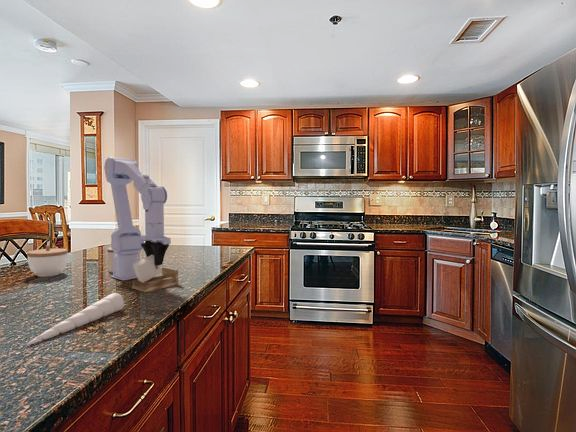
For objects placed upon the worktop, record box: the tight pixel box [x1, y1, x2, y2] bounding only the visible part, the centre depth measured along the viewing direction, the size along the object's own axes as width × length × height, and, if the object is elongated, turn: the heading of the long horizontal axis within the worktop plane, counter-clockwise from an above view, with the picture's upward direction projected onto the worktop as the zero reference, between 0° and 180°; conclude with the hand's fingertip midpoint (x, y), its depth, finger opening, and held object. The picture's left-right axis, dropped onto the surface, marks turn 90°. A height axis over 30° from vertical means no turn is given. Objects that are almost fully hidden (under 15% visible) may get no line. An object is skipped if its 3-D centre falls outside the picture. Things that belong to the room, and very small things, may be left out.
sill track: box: [131, 266, 179, 293], centre depth 113 cm, size 12×8×5 cm, turn 144°
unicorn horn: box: [26, 292, 125, 346], centre depth 79 cm, size 5×24×5 cm, turn 160°
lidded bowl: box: [26, 245, 69, 278], centre depth 129 cm, size 13×13×11 cm
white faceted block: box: [133, 255, 162, 283], centre depth 111 cm, size 3×7×6 cm, turn 142°
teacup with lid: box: [106, 246, 116, 274], centre depth 138 cm, size 12×9×12 cm
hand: (155, 264), depth 113 cm, fingers closed on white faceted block, 3 cm apart
